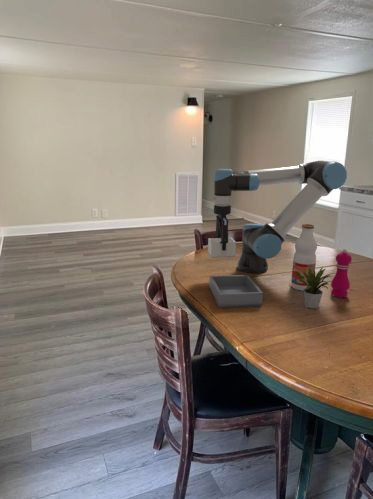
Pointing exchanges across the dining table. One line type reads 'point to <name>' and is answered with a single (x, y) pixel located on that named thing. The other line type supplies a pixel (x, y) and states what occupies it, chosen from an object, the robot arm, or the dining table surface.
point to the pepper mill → (341, 275)
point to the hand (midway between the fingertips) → (221, 254)
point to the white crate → (215, 247)
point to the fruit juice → (303, 257)
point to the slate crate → (235, 291)
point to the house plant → (314, 287)
